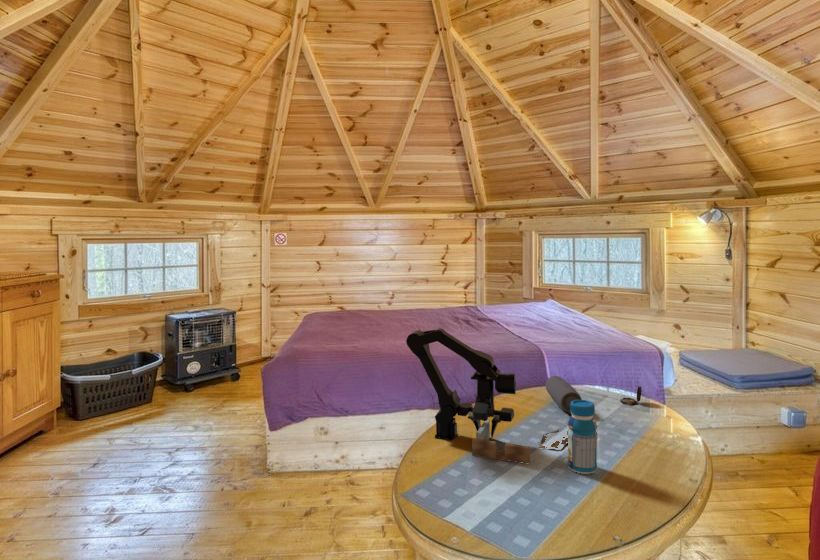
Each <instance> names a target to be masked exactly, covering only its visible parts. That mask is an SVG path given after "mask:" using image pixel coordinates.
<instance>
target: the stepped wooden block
mask: <svg viewBox="0 0 820 560" xmlns="http://www.w3.org/2000/svg"><path fill="white" fill-rule="evenodd" d="M471 441H472V442H471V443H472V446H471V447H472V448H471V449H472V453H471V455H472V456H475V457H480V458H488V459H493V458H495V460H499V459H503V460H502V461H506V460H510V461H509V462H512V461H517V462H516V463H518V462H523V463H522V464H524V463H530V464H531V446H530V445H522V444H516V443H509V442H508V443H507V442H505V444H504V449H497V441H495V440H489V439H488V440H482V439H476V437H475V438H472V440H471Z"/></svg>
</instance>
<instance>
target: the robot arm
mask: <svg viewBox="0 0 820 560" xmlns="http://www.w3.org/2000/svg"><path fill="white" fill-rule="evenodd" d="M436 342H437V343H440V344H441V345H442V346H444V347H445V348H447V349H448V350H450V351H452V352H454V353H455V354H457V355H458V356H459V357H460V358H463V359H464V360H465V361H466V362H467V363H468V364H469V366H470V367H472V369H474V370H475V372H474V373H473V374H472V375H471V377H470V380H474V381H475V380H476V396H475V397H476V398H475V403H474V405H473V404H472V403H467V402H462V399H461V397H459V394H458V391H457V390H456V389H454V390H451V388H449V386H448V384H447V383H446V380H445V379H444V377H443V375H442V373H441V371H440V369H439V367H438V365H437V363H436V361H435V359H434V357H433V355H432V353H431V349H430V344H432V343H436ZM405 343H406V345H407V347H408V349H410V351H411V353H412V354H413V355H415V356H416V357H417V358H418V359H419V362H420V363H421V365H422V367H423V369H424V371H425V373H426V375H427V377H428V379H429V381H430V383H431V385H432V386H433V389H434V391H435V393H436V395H437V400H438V401H437V402H438V405H439V410H438V412H436V415H434V418H435V419H434V420H435V428H436V430H435V432H436V433H435V435H434V438H437V439H442V440H449V441H452V440H453V439H454V438H455V437H456V436H457V435H458V422H456V416H458V417H459V416H460V417H467V419H468V420H471V421H472V422H473V424H474V426H475V430H476V432H477V431H478V430H479V428H480V427H481V425H482V424H481V421H482V422H484V421H487V420H489V418H492V419H491V427H490V438H494V435H495V432H496V429H497V425H498V424H499V423H501V422H506V423H507V422H508V423H511V422H512V421H513V419H514V417H515V410H514V409H513V408H510V407H502V408H501V410H498V409H495V401H494V400H495V397H494V396H495V391H496V392H498V394H505V395H516V394H517V381H516V374H515V373H513V372H511V373H501V371H500V369H499V368H498V367H497V365H496V364H495V360H494V358H493V356H492V355H490V354H488V353H487V352H486V353H485V352H484V351H481V350H477V349H474V348H472V347H470V346H469V345H467V344H465V343H464V342H463V341H462V340H459V339H458V338H457V337H455V336H453V335H452V334H450V333H448V332H447V331H446V330H445V329H443V328H440V327H439V328H437V329H431V330H425V331H423V330H420V329H419V330H415V331H413V332H411V333H410V334H409V335H408V336H407V337H406V340H405ZM494 389H495V391H494ZM461 402H462V403H461Z"/></svg>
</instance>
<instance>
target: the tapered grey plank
mask: <svg viewBox="0 0 820 560" xmlns="http://www.w3.org/2000/svg"><path fill="white" fill-rule="evenodd" d="M490 421H491V420H489V419H488V420H487V421H483V423H482V424H481V427H480V428H479V430H478V431H477V430H476V432H475V439H482V440H489V439H490V438H491V423H490Z"/></svg>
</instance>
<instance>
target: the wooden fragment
mask: <svg viewBox="0 0 820 560" xmlns="http://www.w3.org/2000/svg"><path fill="white" fill-rule="evenodd" d="M559 430H560V429H557V430H554V431H551V432H547V433H544V434H543V435H542V437H541V440H540V444H539V447H538V449H539V448H545V446H542V445H541V444H543V443H544V442H545V440H546V439H545V438H547V437H546V436H544V435H547V434H549V433H557V432H559ZM563 438H565V437H563ZM566 442H568V438H566V439H565V440H562V443H561V444H566ZM559 443H560V442H559V441H556V442H555V443H553V444H552V445H551V447H555V448H558V447H557V446H558V445H559ZM546 448H547V447H546Z"/></svg>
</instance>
